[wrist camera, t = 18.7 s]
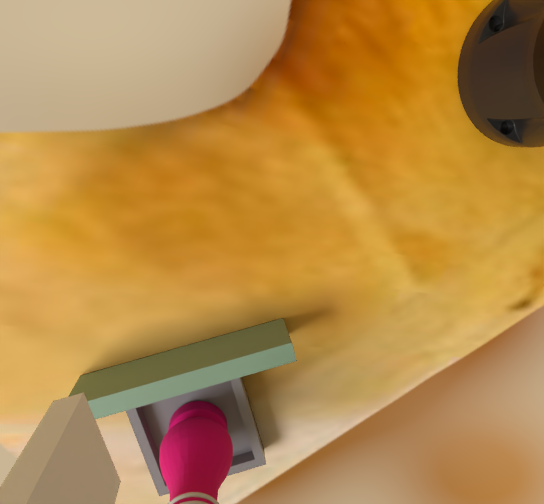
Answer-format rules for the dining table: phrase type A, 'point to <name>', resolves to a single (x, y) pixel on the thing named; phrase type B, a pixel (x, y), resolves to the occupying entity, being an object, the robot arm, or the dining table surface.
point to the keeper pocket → (227, 396)
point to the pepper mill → (196, 453)
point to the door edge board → (186, 369)
